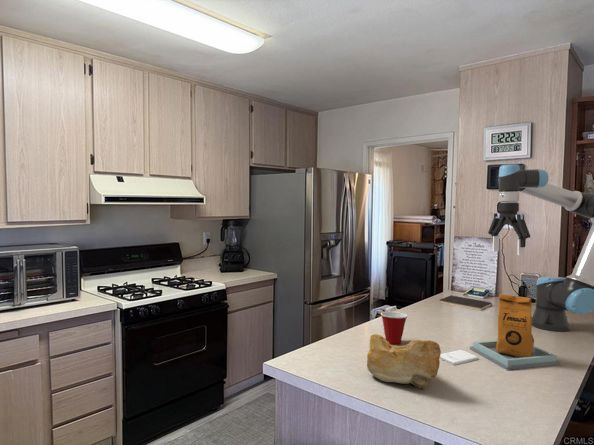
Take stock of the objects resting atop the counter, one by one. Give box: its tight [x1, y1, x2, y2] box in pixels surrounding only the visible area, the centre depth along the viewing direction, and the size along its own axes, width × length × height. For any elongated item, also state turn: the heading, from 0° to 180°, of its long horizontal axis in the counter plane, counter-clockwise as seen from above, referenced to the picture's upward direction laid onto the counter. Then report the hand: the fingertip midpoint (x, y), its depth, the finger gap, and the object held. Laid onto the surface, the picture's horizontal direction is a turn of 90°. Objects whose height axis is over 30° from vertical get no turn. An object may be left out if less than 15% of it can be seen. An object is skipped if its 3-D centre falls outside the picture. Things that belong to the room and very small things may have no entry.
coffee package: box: [496, 293, 535, 358], centre depth 151 cm, size 10×12×22 cm
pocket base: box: [469, 339, 561, 371], centre depth 152 cm, size 22×20×3 cm
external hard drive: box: [439, 349, 479, 366], centre depth 150 cm, size 2×8×12 cm
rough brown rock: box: [366, 333, 442, 389], centre depth 132 cm, size 23×17×15 cm
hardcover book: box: [439, 295, 493, 311], centre depth 229 cm, size 16×23×2 cm
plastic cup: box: [380, 311, 408, 346], centre depth 166 cm, size 11×11×12 cm
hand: (507, 253), depth 170 cm, fingers open, 13 cm apart
